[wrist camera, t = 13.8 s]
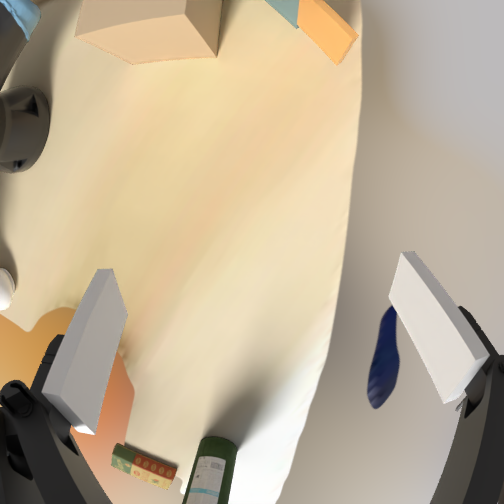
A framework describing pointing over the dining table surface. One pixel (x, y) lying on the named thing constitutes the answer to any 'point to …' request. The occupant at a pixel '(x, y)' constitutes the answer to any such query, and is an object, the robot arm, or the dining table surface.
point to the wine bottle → (211, 472)
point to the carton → (142, 467)
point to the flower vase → (6, 289)
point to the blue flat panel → (319, 25)
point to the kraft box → (151, 28)
